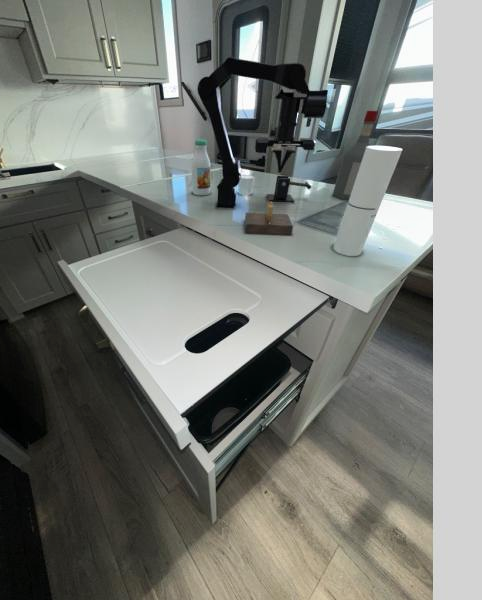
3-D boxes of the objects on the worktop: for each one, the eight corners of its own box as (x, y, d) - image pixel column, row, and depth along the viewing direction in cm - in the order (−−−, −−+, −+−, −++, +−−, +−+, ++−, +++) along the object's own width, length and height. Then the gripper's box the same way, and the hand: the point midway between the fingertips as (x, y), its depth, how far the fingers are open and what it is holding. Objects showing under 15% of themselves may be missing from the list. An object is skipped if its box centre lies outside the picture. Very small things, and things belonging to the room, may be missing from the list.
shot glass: (252, 192, 118) (254, 175, 113) (253, 196, 112) (255, 179, 108) (237, 191, 118) (238, 174, 114) (237, 196, 113) (238, 178, 108)
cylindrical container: (329, 244, 77) (360, 145, 61) (352, 243, 77) (389, 145, 62) (340, 256, 71) (378, 150, 56) (366, 255, 72) (410, 150, 56)
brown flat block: (245, 233, 82) (246, 223, 81) (244, 221, 90) (245, 212, 88) (291, 235, 82) (293, 225, 80) (286, 222, 90) (288, 213, 88)
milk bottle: (190, 195, 113) (189, 141, 101) (194, 190, 119) (193, 138, 107) (208, 196, 112) (209, 141, 100) (211, 191, 118) (212, 139, 106)
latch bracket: (290, 197, 112) (294, 175, 106) (293, 203, 105) (298, 180, 100) (266, 196, 112) (269, 174, 107) (268, 202, 106) (271, 179, 100)
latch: (307, 187, 107) (309, 180, 106) (310, 190, 103) (312, 184, 102) (277, 183, 107) (279, 176, 106) (279, 186, 103) (281, 180, 102)
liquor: (361, 199, 110) (393, 111, 91) (344, 202, 107) (374, 111, 89) (344, 193, 117) (371, 110, 98) (328, 196, 114) (352, 110, 95)
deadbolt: (271, 221, 82) (273, 206, 79) (266, 221, 82) (268, 206, 79) (269, 215, 86) (272, 201, 83) (265, 215, 86) (267, 200, 83)
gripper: (312, 116, 88) (301, 168, 97) (255, 115, 89) (250, 166, 98) (321, 118, 79) (308, 175, 89) (258, 117, 80) (252, 173, 90)
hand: (279, 172), depth 92 cm, fingers closed
